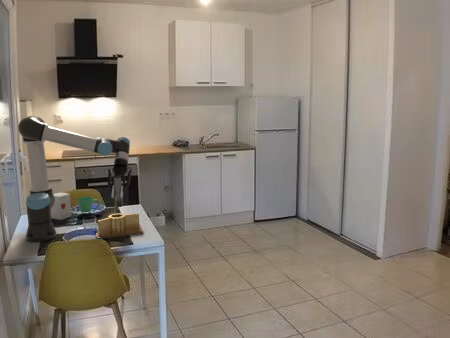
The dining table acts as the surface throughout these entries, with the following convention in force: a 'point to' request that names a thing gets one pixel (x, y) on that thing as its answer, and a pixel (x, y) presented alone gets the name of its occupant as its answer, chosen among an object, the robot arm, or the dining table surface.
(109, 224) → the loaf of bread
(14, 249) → the dining table surface
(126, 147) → the robot arm
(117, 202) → the hinge pin
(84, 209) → the mug
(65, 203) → the supplement box
